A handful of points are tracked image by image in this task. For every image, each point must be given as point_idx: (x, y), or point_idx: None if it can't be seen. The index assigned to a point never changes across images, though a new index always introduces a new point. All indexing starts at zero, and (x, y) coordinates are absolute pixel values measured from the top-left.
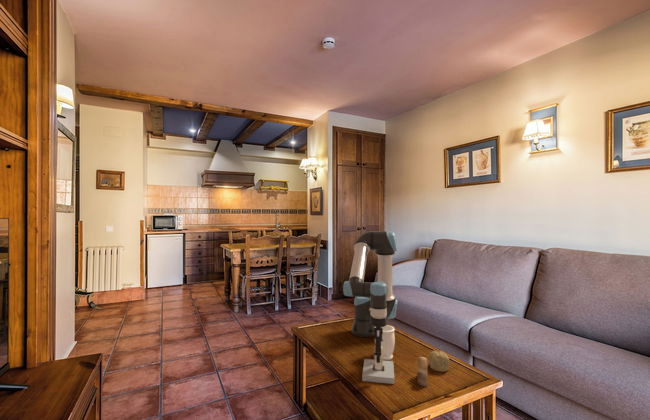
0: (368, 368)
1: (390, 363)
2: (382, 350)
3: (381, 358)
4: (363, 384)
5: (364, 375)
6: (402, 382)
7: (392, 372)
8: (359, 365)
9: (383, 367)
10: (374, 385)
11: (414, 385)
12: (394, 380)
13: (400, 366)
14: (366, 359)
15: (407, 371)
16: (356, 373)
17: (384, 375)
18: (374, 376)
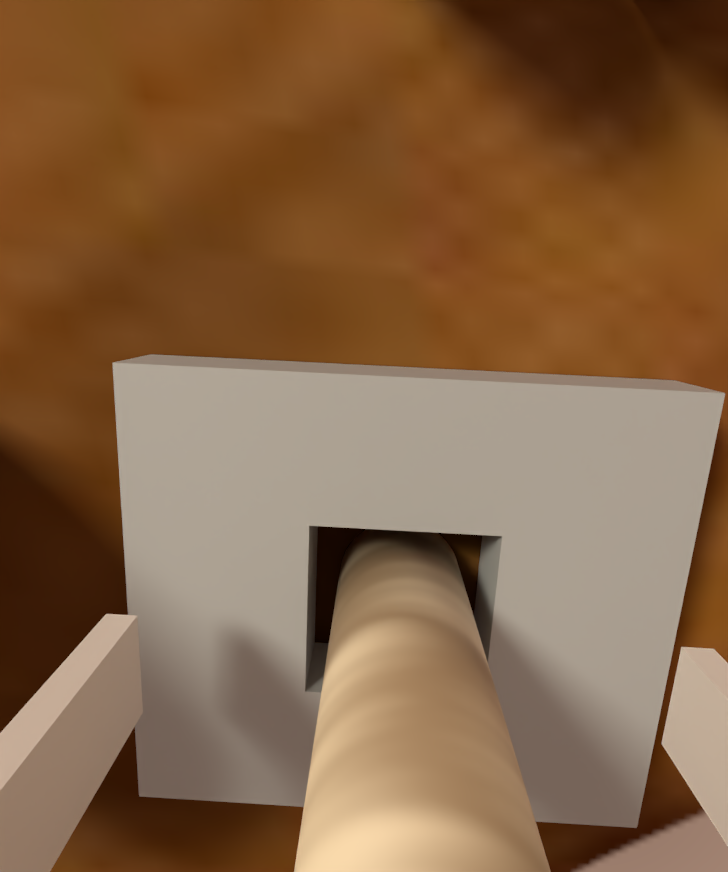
0: None
1: (208, 418)
2: (493, 859)
3: (492, 706)
4: None
5: (641, 802)
6: (622, 255)
7: (528, 409)
8: None
9: (314, 527)
10: (707, 635)
11: (707, 63)
12: (702, 387)
13: (121, 234)
14: (153, 770)
15: (268, 128)
16: None
17: (638, 543)
18: (665, 681)
